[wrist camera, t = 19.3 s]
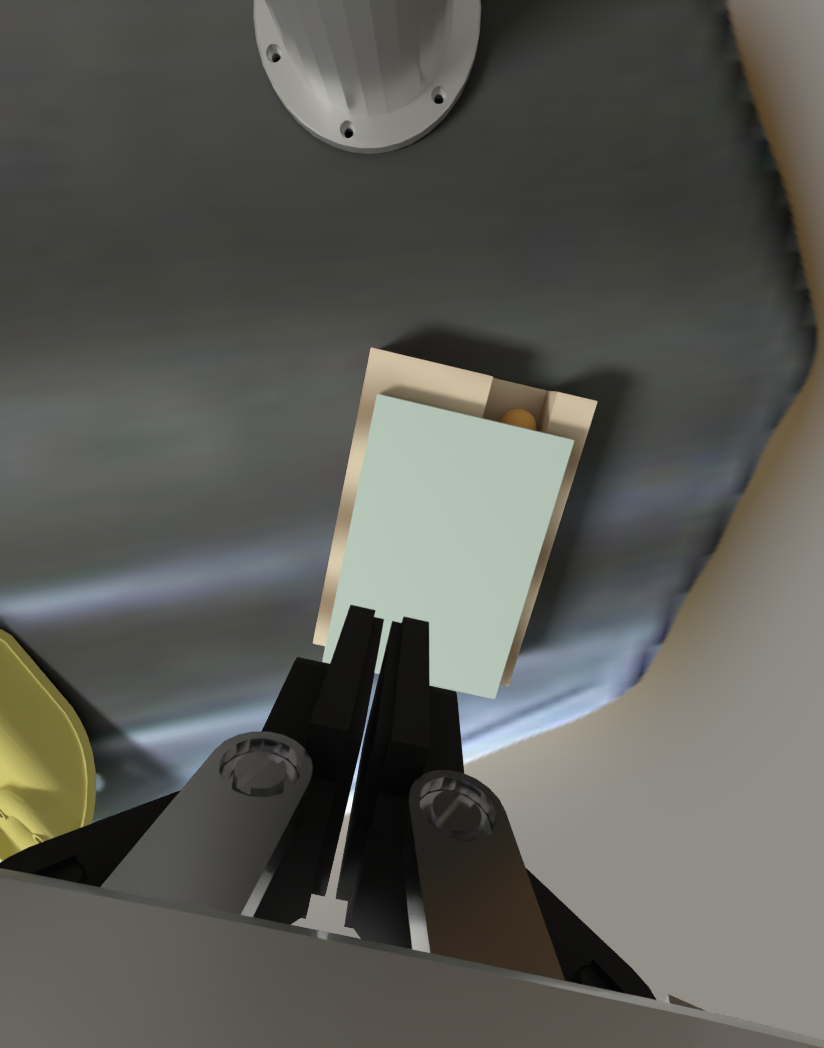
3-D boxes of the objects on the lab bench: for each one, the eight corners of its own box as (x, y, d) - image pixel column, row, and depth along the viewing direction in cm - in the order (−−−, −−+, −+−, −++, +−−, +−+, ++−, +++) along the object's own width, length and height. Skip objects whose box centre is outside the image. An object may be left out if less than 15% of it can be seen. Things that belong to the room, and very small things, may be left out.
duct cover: (378, 393, 32) (376, 394, 31) (570, 438, 33) (574, 440, 32) (325, 654, 37) (322, 661, 36) (493, 691, 37) (494, 699, 36)
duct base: (376, 350, 35) (370, 347, 32) (581, 399, 36) (597, 401, 32) (322, 621, 40) (312, 643, 37) (501, 660, 41) (508, 686, 38)
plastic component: (-142, 705, 41) (-125, 674, 35) (-36, 647, 47) (-8, 612, 41) (29, 893, 44) (70, 893, 38) (108, 815, 49) (155, 804, 44)
